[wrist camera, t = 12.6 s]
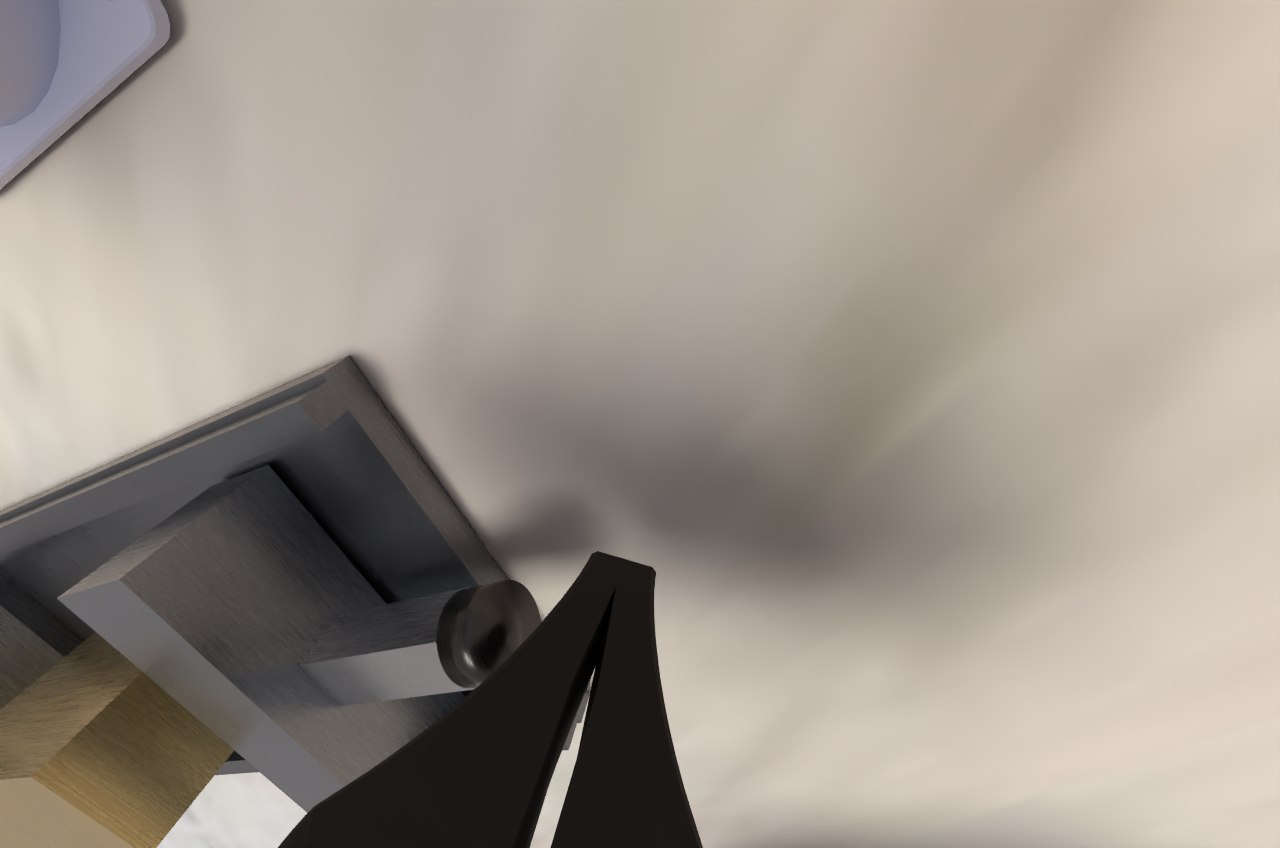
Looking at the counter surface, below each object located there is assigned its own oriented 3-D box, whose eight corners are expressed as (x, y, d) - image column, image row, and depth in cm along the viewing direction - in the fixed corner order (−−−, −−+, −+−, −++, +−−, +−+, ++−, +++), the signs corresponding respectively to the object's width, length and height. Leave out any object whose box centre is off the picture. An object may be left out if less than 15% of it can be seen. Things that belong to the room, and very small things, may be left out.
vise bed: (-42, 530, 22) (-246, 643, 17) (349, 355, 14) (156, 482, 10) (204, 737, 27) (94, 865, 23) (589, 694, 19) (535, 876, 15)
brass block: (116, 614, 21) (-96, 788, 16) (238, 581, 18) (31, 776, 13) (187, 677, 22) (13, 856, 17) (310, 655, 19) (148, 857, 14)
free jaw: (204, 488, 16) (49, 600, 12) (433, 402, 13) (311, 520, 9) (412, 714, 20) (338, 845, 16) (626, 690, 17) (588, 845, 13)
